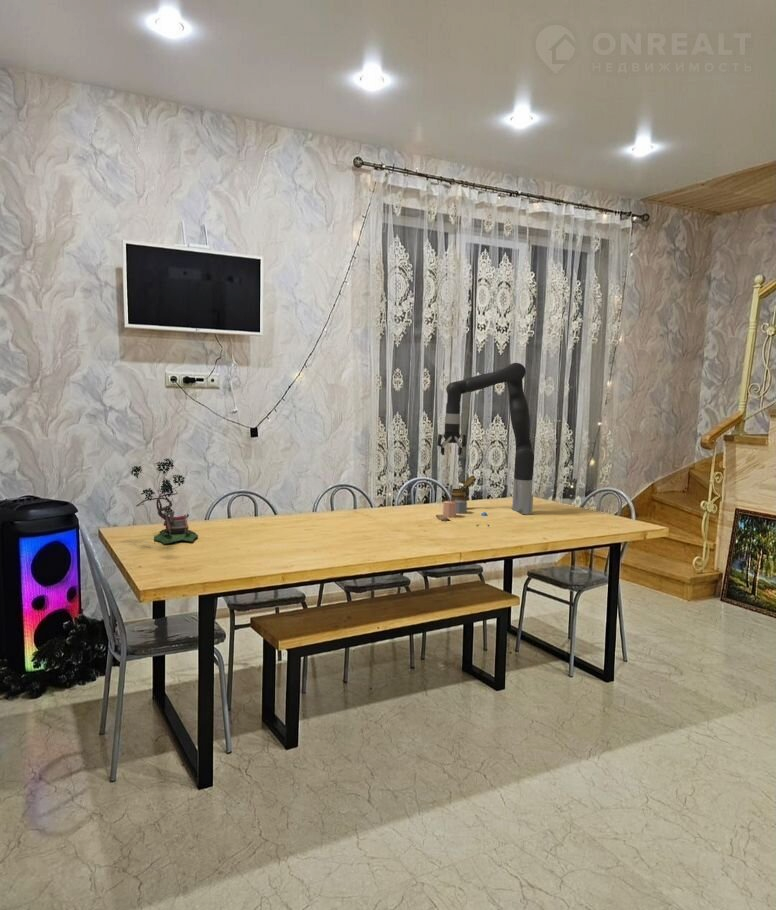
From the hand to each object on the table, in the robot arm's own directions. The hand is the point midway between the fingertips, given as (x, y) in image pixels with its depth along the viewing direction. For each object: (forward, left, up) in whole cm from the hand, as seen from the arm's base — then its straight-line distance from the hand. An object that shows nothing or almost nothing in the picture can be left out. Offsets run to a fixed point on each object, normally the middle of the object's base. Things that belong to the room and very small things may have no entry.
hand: (451, 455), depth 353 cm
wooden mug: (-6, +3, -28) cm, 29 cm away
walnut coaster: (+6, +23, -28) cm, 36 cm away
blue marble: (-12, +21, -26) cm, 36 cm away
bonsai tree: (+129, +64, -28) cm, 146 cm away
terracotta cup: (+6, +23, -27) cm, 36 cm away
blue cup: (-2, +14, -28) cm, 31 cm away
